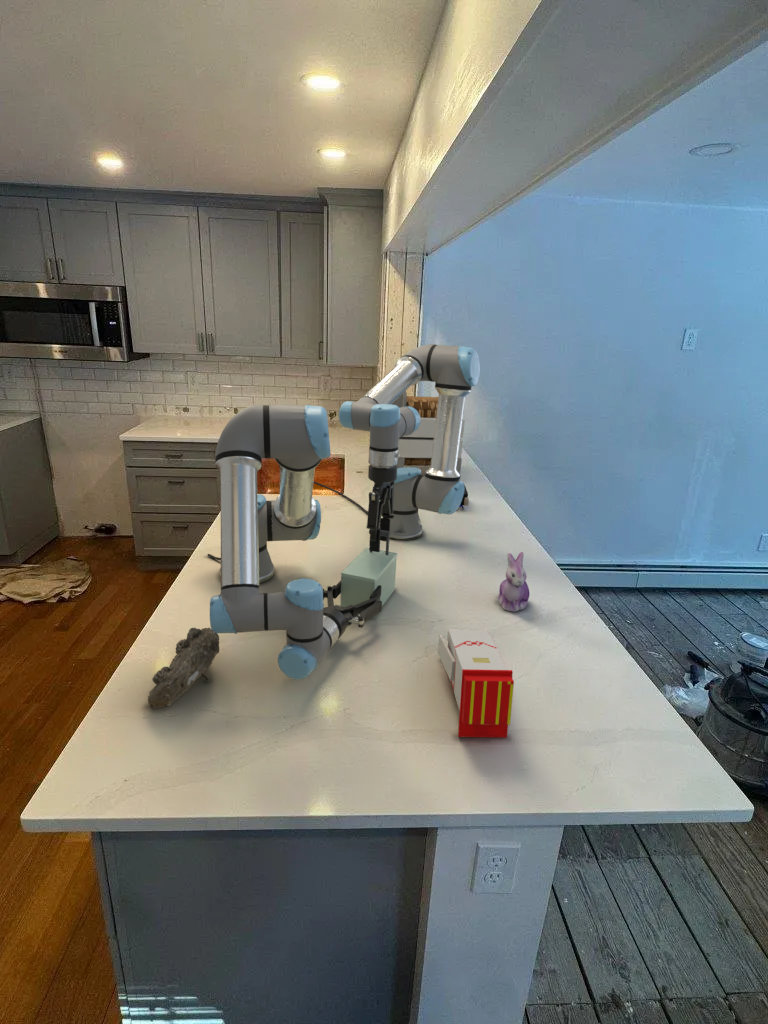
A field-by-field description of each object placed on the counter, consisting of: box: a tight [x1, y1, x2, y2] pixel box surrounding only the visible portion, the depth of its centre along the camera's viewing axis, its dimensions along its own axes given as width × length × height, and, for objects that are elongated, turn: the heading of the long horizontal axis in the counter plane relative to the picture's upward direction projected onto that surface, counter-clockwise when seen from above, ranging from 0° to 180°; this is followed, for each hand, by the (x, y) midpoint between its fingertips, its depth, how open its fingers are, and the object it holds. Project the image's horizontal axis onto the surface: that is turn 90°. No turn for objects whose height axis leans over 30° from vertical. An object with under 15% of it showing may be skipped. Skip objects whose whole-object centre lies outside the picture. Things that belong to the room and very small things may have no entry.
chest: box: [340, 557, 397, 619], centre depth 152 cm, size 17×9×10 cm, turn 161°
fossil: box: [147, 627, 220, 709], centre depth 117 cm, size 22×10×15 cm
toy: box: [437, 628, 515, 738], centre depth 117 cm, size 12×13×30 cm
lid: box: [340, 529, 398, 583], centre depth 149 cm, size 18×9×8 cm, turn 161°
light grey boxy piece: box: [392, 390, 465, 475], centre depth 268 cm, size 34×33×41 cm
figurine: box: [497, 551, 530, 612], centre depth 152 cm, size 9×10×15 cm
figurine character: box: [458, 485, 470, 511], centre depth 230 cm, size 7×8×15 cm
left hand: (361, 586), depth 147 cm, fingers closed on chest, 9 cm apart
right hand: (379, 545), depth 156 cm, fingers open, 7 cm apart
